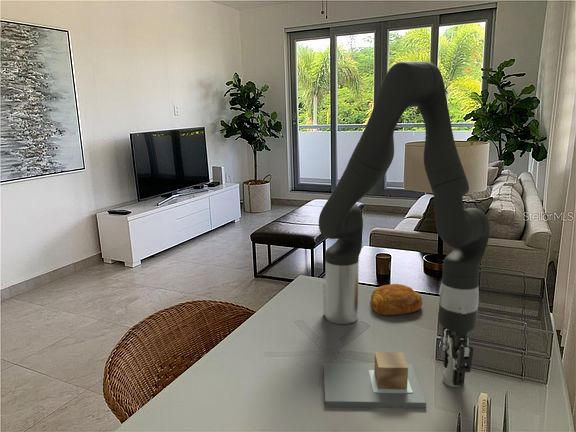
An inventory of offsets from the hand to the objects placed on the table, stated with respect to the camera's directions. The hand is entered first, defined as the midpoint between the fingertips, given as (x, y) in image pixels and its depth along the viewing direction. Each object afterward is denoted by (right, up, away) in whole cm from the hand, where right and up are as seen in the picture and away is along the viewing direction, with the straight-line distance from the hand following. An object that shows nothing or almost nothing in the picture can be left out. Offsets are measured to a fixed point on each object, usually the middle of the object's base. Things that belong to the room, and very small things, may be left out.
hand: (453, 375), depth 97 cm
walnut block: (-14, -1, -1) cm, 14 cm away
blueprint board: (-18, -2, -1) cm, 18 cm away
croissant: (-4, +7, +38) cm, 39 cm away
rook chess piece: (0, -2, 0) cm, 2 cm away
